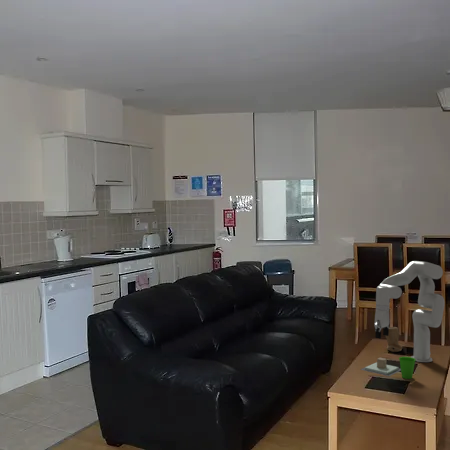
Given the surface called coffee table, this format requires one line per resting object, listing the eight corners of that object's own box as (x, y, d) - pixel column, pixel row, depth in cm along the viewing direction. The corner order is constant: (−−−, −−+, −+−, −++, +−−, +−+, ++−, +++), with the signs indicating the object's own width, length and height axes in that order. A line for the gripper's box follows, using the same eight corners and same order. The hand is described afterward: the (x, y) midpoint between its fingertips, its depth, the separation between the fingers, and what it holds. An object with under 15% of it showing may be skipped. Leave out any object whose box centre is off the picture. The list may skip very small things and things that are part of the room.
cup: (416, 381, 288) (417, 361, 288) (399, 380, 290) (399, 360, 290) (414, 376, 297) (414, 357, 297) (397, 375, 299) (397, 356, 298)
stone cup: (385, 345, 364) (385, 324, 364) (403, 347, 359) (403, 326, 359) (382, 351, 350) (382, 328, 350) (401, 353, 345) (401, 330, 345)
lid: (376, 364, 318) (376, 354, 318) (398, 369, 308) (398, 358, 308) (364, 369, 307) (365, 358, 307) (387, 374, 298) (387, 363, 298)
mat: (374, 364, 321) (374, 363, 320) (403, 370, 308) (403, 369, 308) (360, 370, 307) (360, 369, 307) (389, 377, 295) (389, 376, 295)
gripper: (383, 304, 316) (382, 333, 316) (369, 308, 303) (369, 338, 303) (395, 306, 311) (394, 335, 311) (381, 310, 298) (381, 340, 298)
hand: (382, 336), depth 307 cm, fingers open, 9 cm apart
